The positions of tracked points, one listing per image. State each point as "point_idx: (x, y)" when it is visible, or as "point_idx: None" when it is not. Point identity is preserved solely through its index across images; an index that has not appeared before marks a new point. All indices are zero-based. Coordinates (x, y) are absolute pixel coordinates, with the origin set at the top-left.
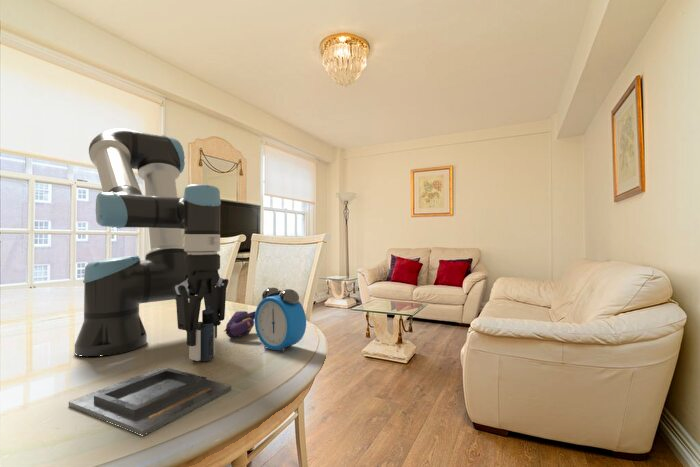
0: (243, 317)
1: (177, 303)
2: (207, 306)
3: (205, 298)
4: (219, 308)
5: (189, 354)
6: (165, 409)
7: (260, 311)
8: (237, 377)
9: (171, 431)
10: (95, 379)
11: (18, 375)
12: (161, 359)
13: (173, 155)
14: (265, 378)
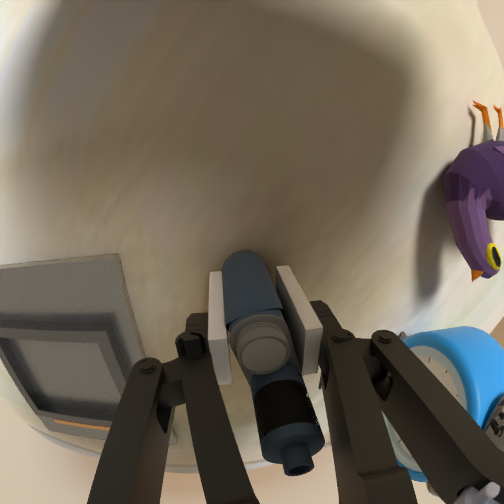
0: None
1: (98, 489)
2: (306, 462)
3: (350, 475)
4: (389, 409)
5: (209, 281)
6: (72, 423)
7: (460, 393)
8: None
9: (76, 439)
10: (8, 149)
11: None
12: (182, 131)
13: None
14: (243, 445)
